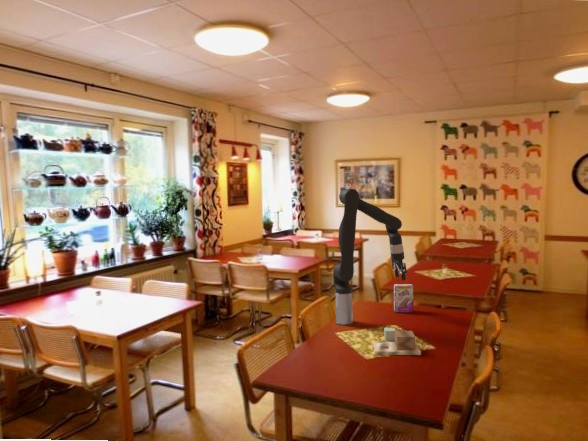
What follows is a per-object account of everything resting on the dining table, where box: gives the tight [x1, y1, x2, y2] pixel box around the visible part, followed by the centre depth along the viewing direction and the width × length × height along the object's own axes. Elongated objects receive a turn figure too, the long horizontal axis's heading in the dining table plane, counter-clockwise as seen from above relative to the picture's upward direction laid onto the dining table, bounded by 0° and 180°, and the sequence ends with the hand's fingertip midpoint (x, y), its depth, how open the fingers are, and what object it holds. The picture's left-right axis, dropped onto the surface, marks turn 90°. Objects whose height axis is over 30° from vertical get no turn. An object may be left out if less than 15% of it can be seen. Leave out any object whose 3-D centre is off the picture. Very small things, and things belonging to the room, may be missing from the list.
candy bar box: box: [393, 283, 415, 314], centre depth 249 cm, size 11×5×16 cm, turn 84°
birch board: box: [372, 341, 422, 356], centre depth 191 cm, size 20×12×2 cm, turn 84°
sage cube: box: [383, 327, 397, 342], centre depth 205 cm, size 5×5×5 cm
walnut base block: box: [394, 330, 416, 350], centre depth 191 cm, size 8×8×6 cm
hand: (400, 278), depth 241 cm, fingers open, 8 cm apart
